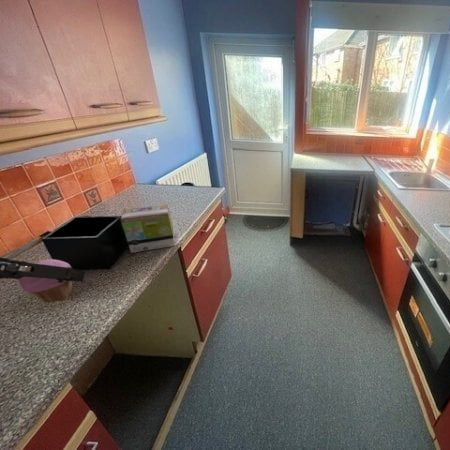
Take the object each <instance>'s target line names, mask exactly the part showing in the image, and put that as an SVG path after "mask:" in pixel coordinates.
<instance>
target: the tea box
mask: <svg viewBox="0 0 450 450" xmlns="http://www.w3.org/2000/svg"><path fill="white" fill-rule="evenodd" d="M121 216H122V217H121V223H122V226H123V229H124V232H125V236H126V239H127V242H128V245H129V248H128V249H129V251H130V253H131V254H133V253H138V252H145V251H150V250H151V251H152V250H157V249H163V248H164V249H165V248H170V247H175V245H176V244H175V231H174V226H173V221H172V216H171V211H170V206H169V203H160V204H150V205H142V206H141V205H140V206H131V207H124V208H123V211H122V214H121Z"/></svg>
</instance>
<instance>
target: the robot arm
mask: <svg viewBox="0 0 450 450" xmlns="http://www.w3.org/2000/svg"><path fill="white" fill-rule="evenodd" d="M35 263H36V262H35ZM35 263H34V262H28V261H25V260H15V259H14V260H13V259H9V258H8V257H7V258H5V257H0V280H2V279H7V280H8V279H9V280H19V279H20V278H22V277H35V278H50V279H57V280H58V283H63V281H64V280H65V281H71V282H79V283H83V282H84V280H85V277H86V273H87V270H76V269H73V268H71V267H60V266H51V265H43V264H35Z"/></svg>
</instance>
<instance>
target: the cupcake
mask: <svg viewBox="0 0 450 450" xmlns="http://www.w3.org/2000/svg"><path fill="white" fill-rule="evenodd" d="M35 264H43V265H51V266H60V267H71V266H70V265H69V264H68V263H66V262H63V261H60V260H54V259H52V258H48V259H43V260H40V261H37V262H35ZM18 283H19V285H20V287H21V288H22V289H23V291H25V292H27V293H31V294H33V295H34V296H36V297H37V298H39V299H40V300H41V301H42V302H44V303H54V302H55V303H56V302H61V301H65V300H66V299H67V298H69V295H70V293H71V290H72V289H73V283H72V281H65V280H64V281H63V283H58V280H57V279H50V278H35V277H22V278H20V279H18Z"/></svg>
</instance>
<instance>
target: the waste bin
mask: <svg viewBox="0 0 450 450" xmlns="http://www.w3.org/2000/svg"><path fill="white" fill-rule="evenodd" d="M121 217H122V215H79V216H73V217H72V218H70V219H69V220H68V221H66V222H65V223H63V224H62V225H60V226H58V227H57V228H56V229H54V230H53V231H51V232H49V233H48V234H46V235H45V236H43V237H42V238H41V241H42V244H43V245H44V247H45V249H46V251H47V253H48V255H49V256H50V259H54V260H60V261H63V262H66V263H68V264H69V265H70V266H71V268H73V269H76V270H83V271H103V270H104V271H105V270H111V269H112V267H113V266H114V265H115V264H116V263H117V262H118V261H119V260H120V258H122V257H123V255H124V254H125V253H126V252H127V251H128V249H130V248H129V245H128V242H127V239H126V236H125V232H124V229H123V226H122V223H121Z"/></svg>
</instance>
